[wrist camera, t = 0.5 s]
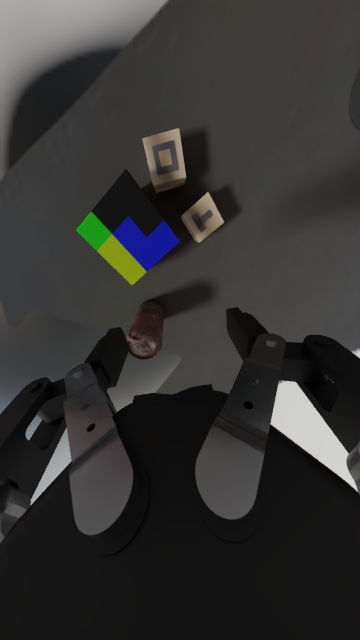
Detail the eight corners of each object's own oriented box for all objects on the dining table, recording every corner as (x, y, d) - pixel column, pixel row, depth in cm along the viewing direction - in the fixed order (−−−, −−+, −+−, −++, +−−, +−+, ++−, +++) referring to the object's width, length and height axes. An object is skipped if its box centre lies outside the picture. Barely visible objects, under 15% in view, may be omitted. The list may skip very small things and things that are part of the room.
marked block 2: (202, 197, 29) (208, 191, 24) (216, 223, 31) (224, 222, 26) (180, 217, 30) (182, 215, 25) (195, 241, 32) (199, 242, 27)
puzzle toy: (177, 238, 32) (179, 241, 23) (141, 271, 34) (131, 285, 26) (140, 188, 27) (126, 168, 19) (103, 230, 30) (76, 230, 21)
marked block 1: (177, 146, 25) (179, 126, 21) (183, 185, 28) (186, 176, 23) (147, 154, 25) (142, 137, 21) (155, 193, 28) (153, 185, 23)
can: (144, 294, 37) (131, 326, 24) (168, 307, 39) (167, 342, 26) (133, 314, 39) (117, 352, 27) (156, 325, 41) (151, 365, 29)
